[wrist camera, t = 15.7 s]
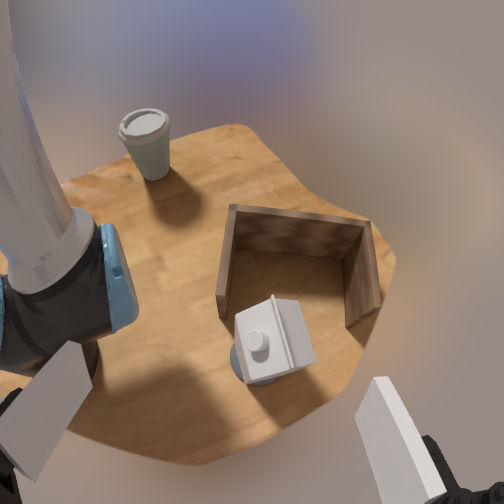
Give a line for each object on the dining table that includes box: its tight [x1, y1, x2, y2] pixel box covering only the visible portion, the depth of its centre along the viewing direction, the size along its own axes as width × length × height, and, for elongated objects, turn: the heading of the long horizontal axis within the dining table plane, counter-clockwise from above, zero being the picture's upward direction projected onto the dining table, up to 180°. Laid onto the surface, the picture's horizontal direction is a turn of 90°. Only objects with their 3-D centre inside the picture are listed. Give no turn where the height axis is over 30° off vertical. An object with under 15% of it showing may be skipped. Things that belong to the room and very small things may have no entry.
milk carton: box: [234, 295, 317, 384], centre depth 32 cm, size 7×7×19 cm
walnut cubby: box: [215, 204, 382, 328], centre depth 43 cm, size 22×14×11 cm, turn 85°
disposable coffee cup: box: [119, 108, 170, 181], centre depth 52 cm, size 11×11×15 cm
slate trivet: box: [230, 343, 281, 385], centre depth 41 cm, size 9×9×1 cm
